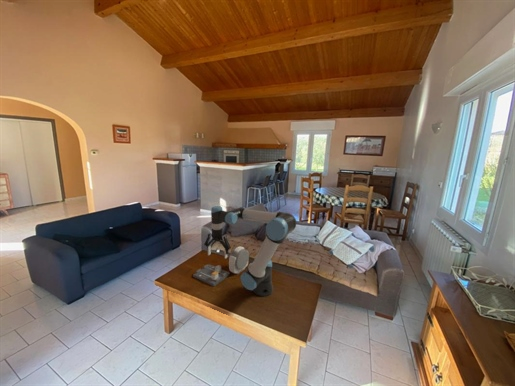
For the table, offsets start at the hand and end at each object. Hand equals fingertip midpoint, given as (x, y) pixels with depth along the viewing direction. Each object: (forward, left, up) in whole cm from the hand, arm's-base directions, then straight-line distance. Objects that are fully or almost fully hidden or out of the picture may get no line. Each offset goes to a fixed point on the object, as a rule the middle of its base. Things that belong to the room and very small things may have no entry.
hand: (217, 256), depth 156 cm
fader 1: (+3, 0, -19) cm, 19 cm away
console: (+10, -4, -21) cm, 24 cm away
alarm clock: (-3, -22, -22) cm, 31 cm away
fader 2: (+7, -8, -19) cm, 22 cm away
